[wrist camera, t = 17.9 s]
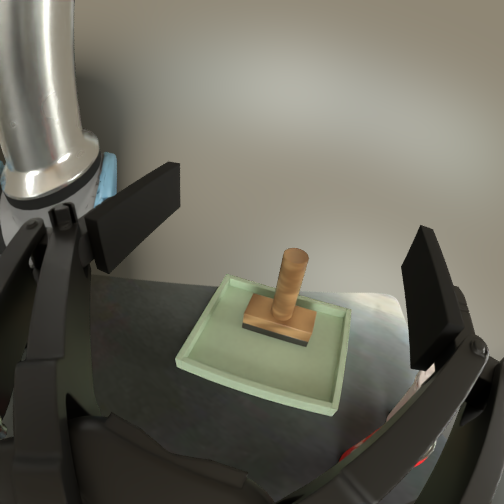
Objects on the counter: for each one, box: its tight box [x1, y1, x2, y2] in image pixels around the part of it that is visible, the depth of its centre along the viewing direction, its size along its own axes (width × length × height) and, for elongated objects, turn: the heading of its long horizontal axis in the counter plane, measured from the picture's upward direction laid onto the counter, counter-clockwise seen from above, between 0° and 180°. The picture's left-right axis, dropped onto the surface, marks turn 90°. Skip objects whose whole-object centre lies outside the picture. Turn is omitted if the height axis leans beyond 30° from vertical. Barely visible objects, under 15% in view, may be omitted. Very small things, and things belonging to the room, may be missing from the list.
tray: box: [175, 274, 351, 416], centre depth 37 cm, size 20×17×2 cm
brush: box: [242, 248, 317, 347], centre depth 35 cm, size 9×4×12 cm, turn 72°
